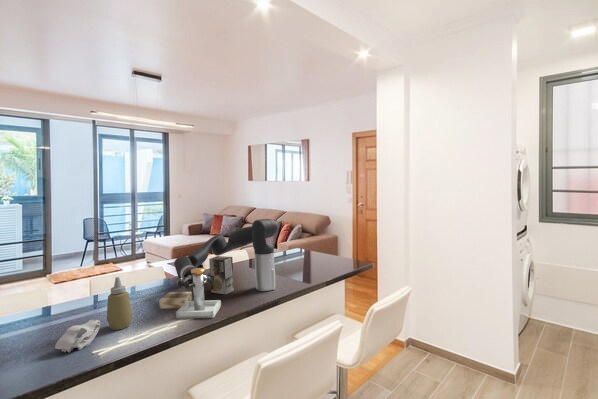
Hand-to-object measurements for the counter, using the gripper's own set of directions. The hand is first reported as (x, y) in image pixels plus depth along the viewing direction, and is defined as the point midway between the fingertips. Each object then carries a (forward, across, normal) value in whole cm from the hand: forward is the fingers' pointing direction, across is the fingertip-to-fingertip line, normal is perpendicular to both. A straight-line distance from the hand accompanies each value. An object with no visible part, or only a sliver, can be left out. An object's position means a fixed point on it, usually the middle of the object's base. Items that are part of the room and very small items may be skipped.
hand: (199, 284), depth 128 cm
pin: (-2, 0, -11) cm, 11 cm away
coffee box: (-22, -15, -12) cm, 29 cm away
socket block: (-17, +6, -12) cm, 22 cm away
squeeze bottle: (-4, +28, -12) cm, 30 cm away
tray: (-2, 0, -12) cm, 12 cm away
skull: (+6, +39, -12) cm, 41 cm away
